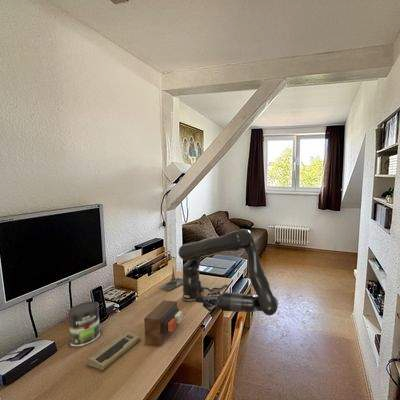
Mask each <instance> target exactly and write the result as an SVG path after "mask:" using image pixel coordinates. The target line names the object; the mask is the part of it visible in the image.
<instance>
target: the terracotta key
mask: <svg viewBox="0 0 400 400" xmlns="http://www.w3.org/2000/svg"><path fill="white" fill-rule="evenodd" d="M177 327H178V325H177V323H176V319H174V318H172V319H171V320H170V321H169V323H168V331H170V332H171V333H173V332H174V330H175V329H176V328H177Z"/></svg>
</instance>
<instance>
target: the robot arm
mask: <svg viewBox="0 0 400 400" xmlns="http://www.w3.org/2000/svg"><path fill="white" fill-rule="evenodd" d="M241 250H244V252H245V254H246V256H247V264H248V265H247V266H248V270H247V271H248V277H249V280H250V283H251V285H252V287H253V289H254V291H255V294H247V293H240V292H230V291H229V292H227V291H226V292H225V291H224V292H223V293H221V290H223V289H224V288H225V287H228V286H229V285H227V284H224V285H223V286H221V287H212V288H211V289H210V288H209V287H205V286H202V282H201V280H200V265H201V257H211V256H216V255H218V254H221V253H223V252H238V251H241ZM178 256H179V258H180V259H181V260H183V261H186V262H185V263H184V264H183V265H182V279H183V284H182V300H183V301H185V302H194V301H195V303H198V304H202V307H203V308H204V309H205V310H206V311H208V312H211V311H212V309H220V310H221V311H223V312H233V313H241V312H242V313H254V312H262V313H263V314H264V315H266V316H268V317H270V316H274V315H275V314H276V313H277V312H278V308H279V300H278V298H277V297H276V296H275V295H274V294H273V292H272V290H271V285H270V282H269V280H268V277H267V276H266V273H265V271H264V269H263V266H262V263H261V261H260V257H259V253H258V250H257V247H256V243H255V240H254V237H253V234H252V233H251V231H250V230H249V229H247V228H241V229H237V230H232V231H231V232H228V233H226V234H224V235H221V236H210V237H206V238H203V239H201V240H199V241H191V242H188V243H184V244H182V245H181V246H180V247H179V249H178ZM205 290H208V291H209V292H210V293H207V295H204V296H202V293H204V292H205ZM214 290H218V291H215V292H214ZM212 291H213V292H212Z"/></svg>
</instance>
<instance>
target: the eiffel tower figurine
mask: <svg viewBox="0 0 400 400" xmlns="http://www.w3.org/2000/svg"><path fill="white" fill-rule="evenodd" d="M174 268H175V267H174V266H172V275H171V279H170V281H168V282H166V283H165V284H163V285H161V286H159V287H158V288H159V289H162V290H167V291H171V290H174V289H176V288H177V287H179V286H181V285H183V278H179V277H177V278H176V277H175V269H174Z"/></svg>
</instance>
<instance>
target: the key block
mask: <svg viewBox="0 0 400 400" xmlns="http://www.w3.org/2000/svg"><path fill="white" fill-rule="evenodd" d="M178 311H180V308H179V307H178V301H177V300H165V299H163V300H162V301H161V302H160V303H159V304H157V305H156V306H155V308H153V309H152V310H151V311H150V312H149V313H148V314H147V315H146V316H145V317H144V318H143V320H144V323H143V324H144V344H145V346H155V347H161V346H163V344H164V342H165V341H166V340H167V339H168V338H169V336H170V335H171V334H172V332H170V331H168V323H169V321H170V320H171V319H172V318H174V319H175V317H174V316H175V315H176V313H177V312H178ZM177 326H178V323H177Z"/></svg>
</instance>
